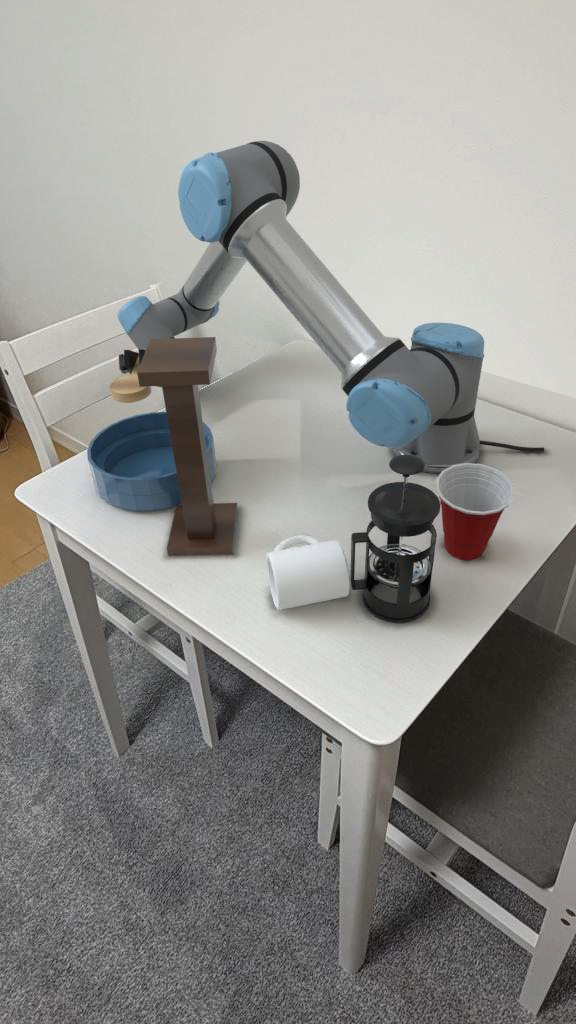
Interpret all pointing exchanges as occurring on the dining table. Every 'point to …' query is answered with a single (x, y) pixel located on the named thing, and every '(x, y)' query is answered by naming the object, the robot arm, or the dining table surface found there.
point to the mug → (307, 572)
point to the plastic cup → (471, 506)
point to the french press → (398, 544)
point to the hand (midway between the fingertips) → (134, 358)
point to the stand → (189, 444)
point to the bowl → (139, 463)
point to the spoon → (129, 387)
